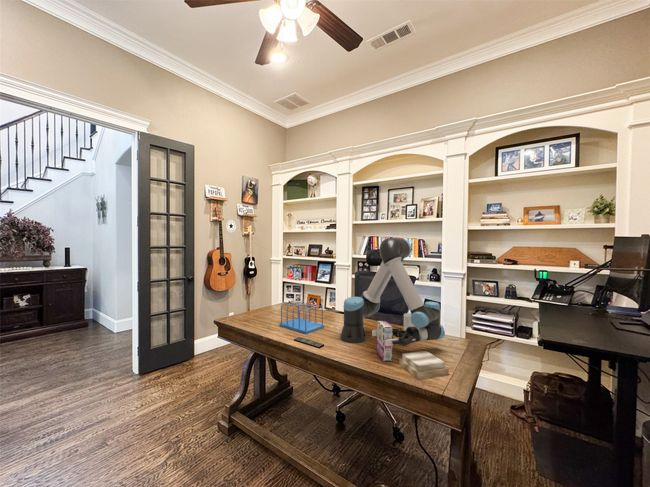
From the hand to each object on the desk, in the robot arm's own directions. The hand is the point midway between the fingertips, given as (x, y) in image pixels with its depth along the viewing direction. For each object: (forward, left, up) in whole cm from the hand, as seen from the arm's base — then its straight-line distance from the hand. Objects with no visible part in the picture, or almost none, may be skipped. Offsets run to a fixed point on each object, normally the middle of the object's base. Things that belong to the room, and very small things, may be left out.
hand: (378, 338), depth 134 cm
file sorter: (-58, -27, -10) cm, 64 cm away
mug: (-28, +38, -10) cm, 48 cm away
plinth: (+16, +13, -10) cm, 23 cm away
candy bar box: (0, +3, -10) cm, 10 cm away
